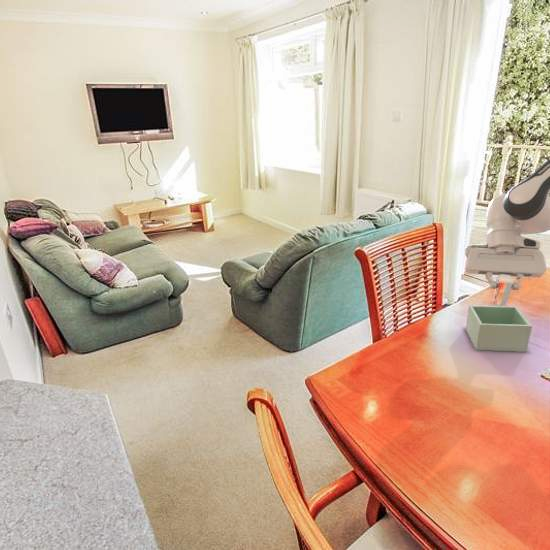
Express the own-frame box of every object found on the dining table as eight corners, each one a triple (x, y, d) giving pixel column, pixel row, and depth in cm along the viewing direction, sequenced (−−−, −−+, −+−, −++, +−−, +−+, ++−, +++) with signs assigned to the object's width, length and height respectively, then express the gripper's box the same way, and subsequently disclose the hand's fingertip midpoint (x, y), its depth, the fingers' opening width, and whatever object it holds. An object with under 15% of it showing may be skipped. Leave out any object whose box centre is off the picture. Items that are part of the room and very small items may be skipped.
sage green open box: (511, 330, 120) (516, 306, 116) (526, 351, 109) (532, 326, 106) (465, 328, 122) (469, 305, 119) (475, 349, 112) (479, 324, 109)
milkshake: (509, 309, 108) (517, 278, 103) (488, 304, 111) (496, 273, 107) (513, 303, 111) (521, 273, 106) (493, 298, 114) (500, 268, 110)
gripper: (467, 239, 113) (466, 282, 109) (546, 242, 106) (549, 287, 102) (463, 248, 119) (463, 289, 114) (539, 251, 112) (541, 294, 108)
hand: (504, 288), depth 108 cm, fingers closed on milkshake, 4 cm apart
